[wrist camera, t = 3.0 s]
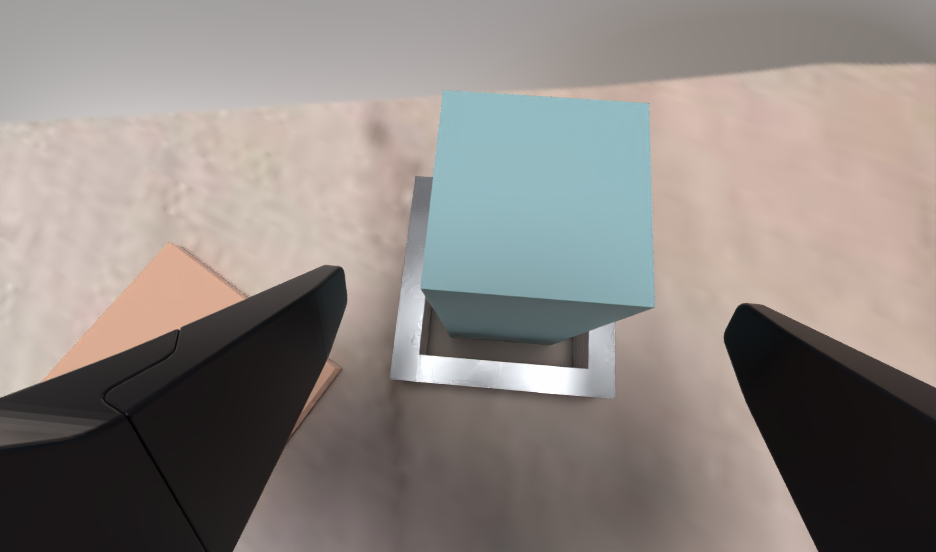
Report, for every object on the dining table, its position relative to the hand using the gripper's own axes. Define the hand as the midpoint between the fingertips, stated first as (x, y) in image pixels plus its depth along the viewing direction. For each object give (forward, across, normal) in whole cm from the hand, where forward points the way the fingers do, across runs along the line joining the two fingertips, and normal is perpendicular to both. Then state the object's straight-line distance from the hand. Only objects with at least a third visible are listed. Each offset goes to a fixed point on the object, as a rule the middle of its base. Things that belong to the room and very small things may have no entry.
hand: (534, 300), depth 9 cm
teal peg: (+8, 0, +5) cm, 9 cm away
